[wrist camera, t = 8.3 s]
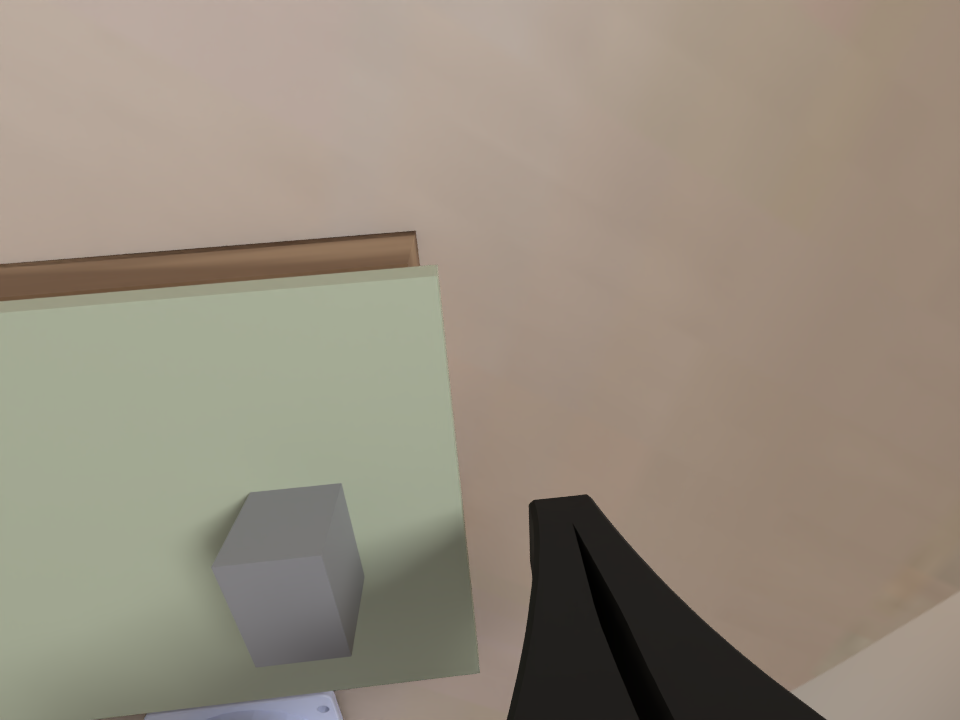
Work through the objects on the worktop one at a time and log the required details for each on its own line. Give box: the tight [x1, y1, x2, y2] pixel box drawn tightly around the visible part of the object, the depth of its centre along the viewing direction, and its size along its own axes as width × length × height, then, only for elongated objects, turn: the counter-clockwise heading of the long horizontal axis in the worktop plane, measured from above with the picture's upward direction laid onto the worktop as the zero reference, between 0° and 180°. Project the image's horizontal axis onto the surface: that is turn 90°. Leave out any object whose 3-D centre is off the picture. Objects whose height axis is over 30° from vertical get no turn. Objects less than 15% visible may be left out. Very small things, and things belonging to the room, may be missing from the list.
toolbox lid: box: [0, 265, 480, 720], centre depth 12 cm, size 12×18×6 cm, turn 94°
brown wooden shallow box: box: [0, 231, 420, 301], centre depth 13 cm, size 12×16×4 cm
